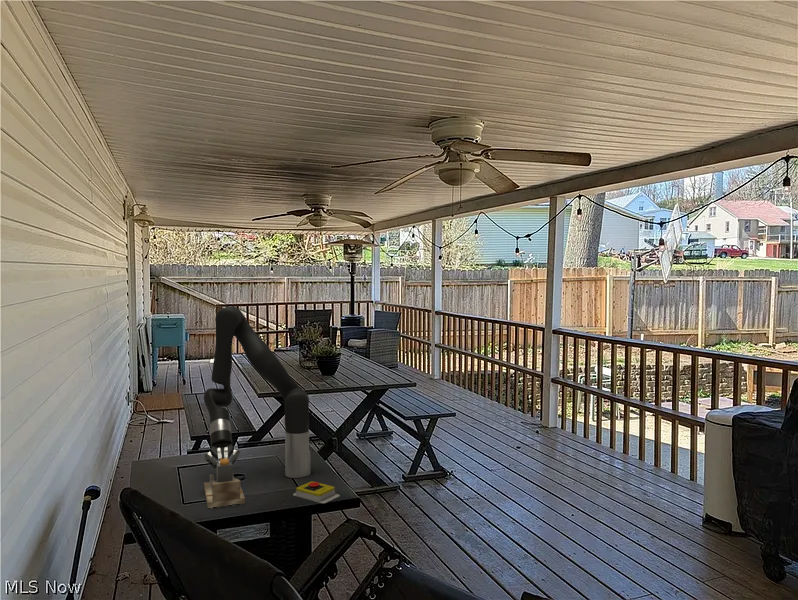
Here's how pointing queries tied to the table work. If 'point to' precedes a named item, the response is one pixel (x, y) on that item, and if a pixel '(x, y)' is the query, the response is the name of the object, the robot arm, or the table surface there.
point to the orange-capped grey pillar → (224, 471)
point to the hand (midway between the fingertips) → (223, 477)
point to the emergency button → (316, 492)
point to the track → (223, 493)
